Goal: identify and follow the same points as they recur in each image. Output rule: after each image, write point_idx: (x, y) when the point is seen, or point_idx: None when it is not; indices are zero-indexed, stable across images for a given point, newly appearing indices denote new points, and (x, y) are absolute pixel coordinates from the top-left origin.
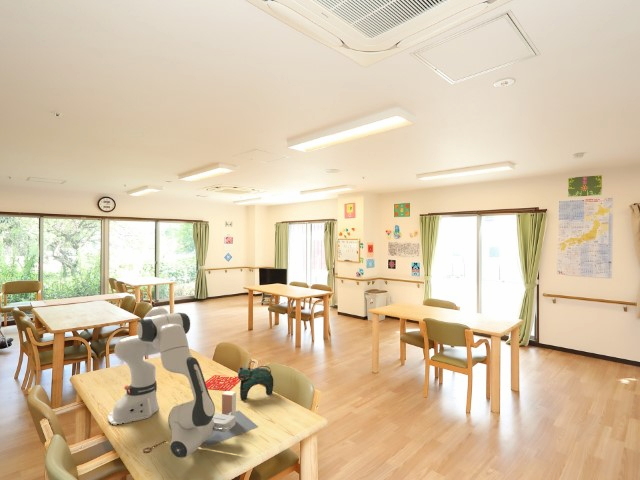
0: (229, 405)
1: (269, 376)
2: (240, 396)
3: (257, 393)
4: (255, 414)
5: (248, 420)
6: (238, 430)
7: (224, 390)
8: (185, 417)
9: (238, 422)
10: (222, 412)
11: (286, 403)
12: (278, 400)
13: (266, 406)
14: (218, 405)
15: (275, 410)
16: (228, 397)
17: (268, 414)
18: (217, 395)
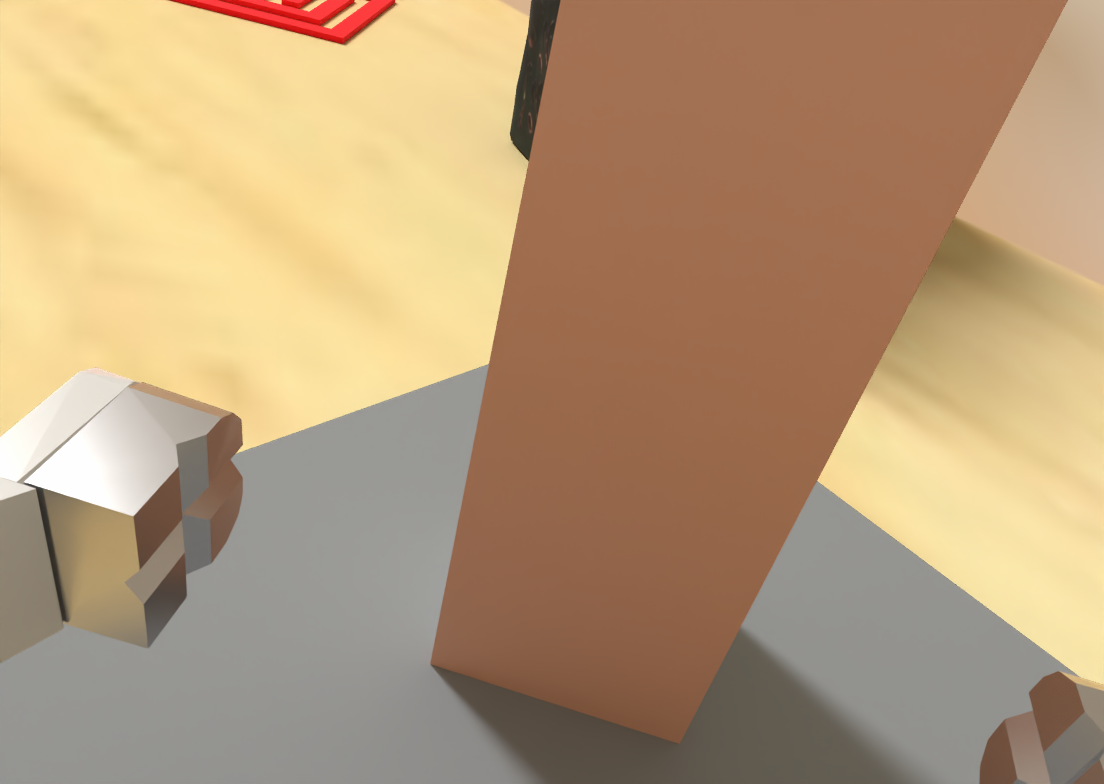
0: (801, 326)
1: None
2: (522, 121)
3: None
4: (884, 430)
5: (917, 584)
6: None
7: (289, 28)
8: None
9: (767, 629)
10: (486, 456)
11: (1094, 301)
12: (965, 246)
13: (910, 307)
14: (250, 186)
15: (1085, 391)
16: (879, 27)
17: (1068, 455)
18: (214, 60)
